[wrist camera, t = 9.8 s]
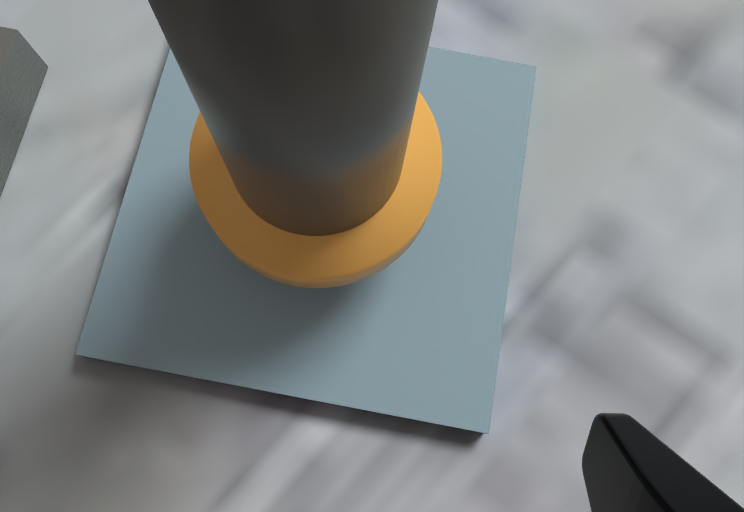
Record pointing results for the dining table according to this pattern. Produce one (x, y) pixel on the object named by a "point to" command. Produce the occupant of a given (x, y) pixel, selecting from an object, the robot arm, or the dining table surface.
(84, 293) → the dining table surface
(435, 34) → the dining table surface
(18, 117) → the socket block
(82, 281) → the dining table surface
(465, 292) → the mat
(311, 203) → the plug
